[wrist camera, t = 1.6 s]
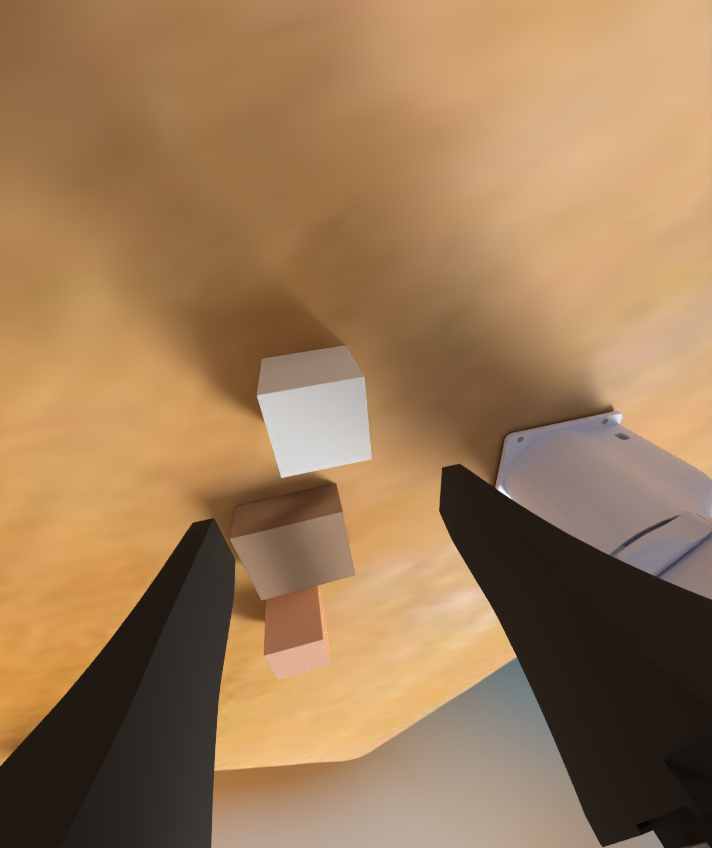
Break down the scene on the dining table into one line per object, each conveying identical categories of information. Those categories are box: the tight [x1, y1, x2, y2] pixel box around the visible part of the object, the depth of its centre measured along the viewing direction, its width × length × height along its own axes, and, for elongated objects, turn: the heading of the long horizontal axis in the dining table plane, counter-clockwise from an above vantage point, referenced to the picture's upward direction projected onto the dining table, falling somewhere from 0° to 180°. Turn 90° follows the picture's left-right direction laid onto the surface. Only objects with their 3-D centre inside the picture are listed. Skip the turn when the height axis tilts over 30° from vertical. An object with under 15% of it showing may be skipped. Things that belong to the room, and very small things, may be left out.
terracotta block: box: [264, 586, 331, 679], centre depth 27 cm, size 4×4×4 cm
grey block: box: [257, 345, 372, 478], centre depth 16 cm, size 4×4×4 cm
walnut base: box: [230, 484, 355, 600], centre depth 22 cm, size 7×7×3 cm
